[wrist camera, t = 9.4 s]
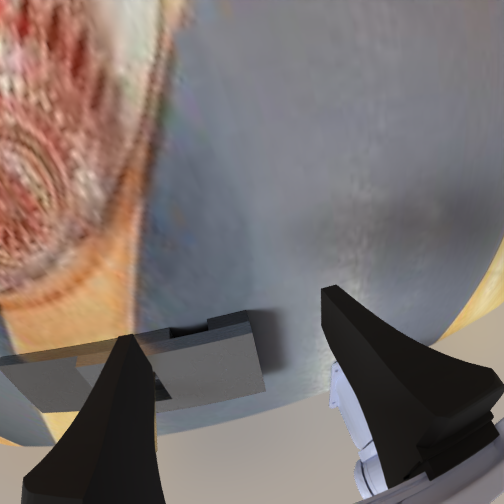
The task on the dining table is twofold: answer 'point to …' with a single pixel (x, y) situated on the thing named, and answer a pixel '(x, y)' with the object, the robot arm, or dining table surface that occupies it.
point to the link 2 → (197, 365)
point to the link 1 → (62, 373)
